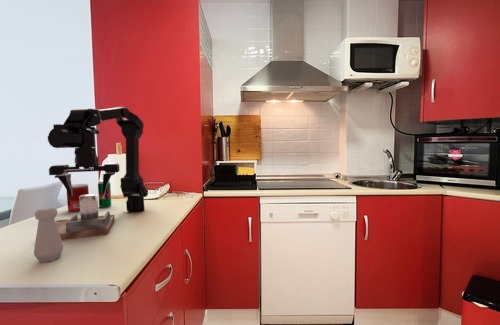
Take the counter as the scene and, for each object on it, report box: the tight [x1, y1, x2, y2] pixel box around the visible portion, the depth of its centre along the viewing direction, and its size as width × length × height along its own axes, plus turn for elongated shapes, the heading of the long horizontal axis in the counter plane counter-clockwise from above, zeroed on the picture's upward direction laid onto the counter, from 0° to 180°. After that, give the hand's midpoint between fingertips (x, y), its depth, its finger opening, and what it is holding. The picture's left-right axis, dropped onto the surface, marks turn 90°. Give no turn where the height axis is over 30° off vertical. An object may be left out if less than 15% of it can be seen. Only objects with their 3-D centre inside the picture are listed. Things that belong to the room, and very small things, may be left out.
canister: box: [79, 193, 100, 220], centre depth 83 cm, size 5×5×10 cm
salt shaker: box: [33, 207, 64, 263], centre depth 63 cm, size 6×6×13 cm
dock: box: [55, 210, 116, 241], centre depth 84 cm, size 18×16×5 cm
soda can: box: [97, 180, 112, 208], centre depth 116 cm, size 5×5×12 cm
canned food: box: [66, 183, 90, 213], centre depth 110 cm, size 8×8×11 cm
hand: (88, 194), depth 82 cm, fingers open, 9 cm apart
